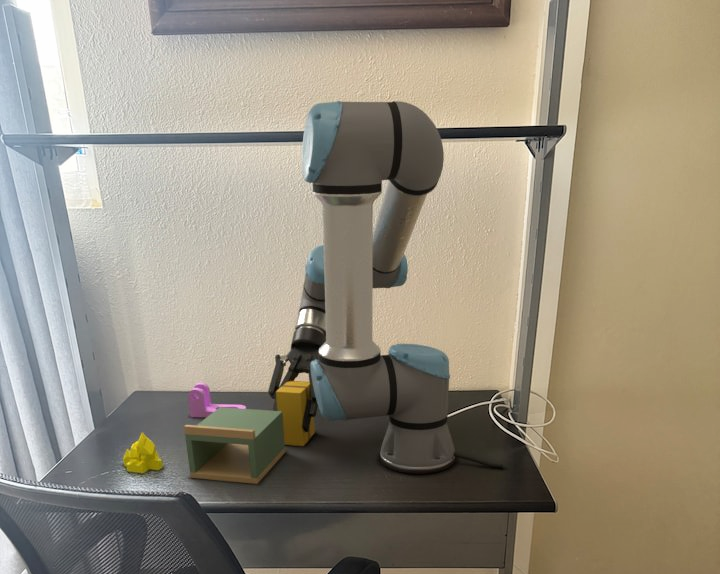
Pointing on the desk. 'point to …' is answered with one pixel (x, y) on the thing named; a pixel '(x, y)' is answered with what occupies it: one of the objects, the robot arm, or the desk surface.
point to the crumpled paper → (142, 456)
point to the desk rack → (235, 444)
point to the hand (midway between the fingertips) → (291, 428)
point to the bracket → (204, 402)
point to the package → (294, 411)
